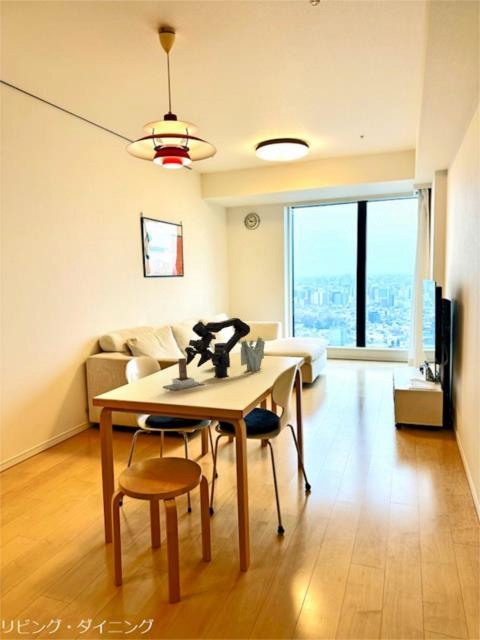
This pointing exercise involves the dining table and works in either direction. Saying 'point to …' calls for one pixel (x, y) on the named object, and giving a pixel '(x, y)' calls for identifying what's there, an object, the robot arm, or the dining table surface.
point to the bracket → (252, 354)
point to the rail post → (182, 369)
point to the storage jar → (219, 347)
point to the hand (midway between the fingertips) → (192, 365)
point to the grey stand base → (182, 384)
